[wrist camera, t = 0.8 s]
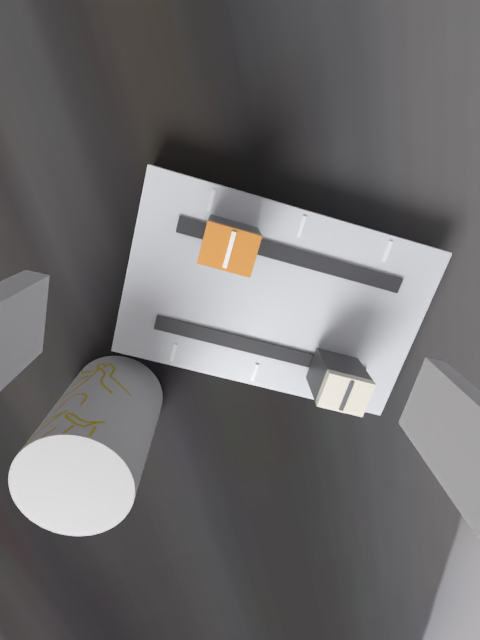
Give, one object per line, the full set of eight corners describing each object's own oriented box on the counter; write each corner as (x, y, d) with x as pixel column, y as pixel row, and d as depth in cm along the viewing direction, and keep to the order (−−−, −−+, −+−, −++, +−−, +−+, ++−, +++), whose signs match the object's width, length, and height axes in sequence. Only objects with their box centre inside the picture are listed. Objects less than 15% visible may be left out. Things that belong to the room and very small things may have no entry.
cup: (133, 341, 37) (90, 414, 26) (178, 412, 39) (158, 509, 28) (56, 378, 38) (-19, 465, 27) (104, 446, 40) (55, 552, 29)
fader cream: (316, 347, 34) (329, 373, 30) (357, 358, 35) (376, 385, 30) (305, 377, 35) (317, 407, 31) (345, 387, 36) (362, 418, 31)
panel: (153, 165, 32) (146, 164, 30) (437, 248, 35) (453, 253, 32) (118, 340, 37) (110, 351, 34) (371, 401, 39) (381, 416, 37)
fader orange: (210, 214, 31) (207, 220, 26) (257, 227, 31) (262, 236, 26) (201, 250, 31) (196, 263, 27) (247, 263, 32) (250, 278, 27)
